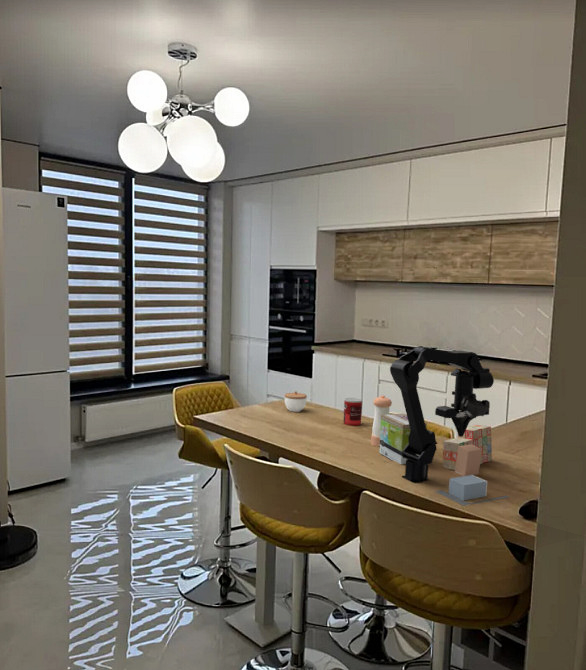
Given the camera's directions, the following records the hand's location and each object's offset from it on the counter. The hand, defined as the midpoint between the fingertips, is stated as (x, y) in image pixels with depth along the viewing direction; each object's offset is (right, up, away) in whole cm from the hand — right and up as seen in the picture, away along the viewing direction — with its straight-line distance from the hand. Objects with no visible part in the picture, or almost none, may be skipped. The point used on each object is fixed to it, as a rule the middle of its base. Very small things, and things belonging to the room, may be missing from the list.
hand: (460, 436), depth 185 cm
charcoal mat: (-3, -14, -19) cm, 24 cm away
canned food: (-29, -6, +65) cm, 71 cm away
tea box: (-17, -11, +15) cm, 25 cm away
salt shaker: (-21, -9, +33) cm, 40 cm away
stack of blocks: (+6, -12, +10) cm, 17 cm away
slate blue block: (0, -11, -18) cm, 21 cm away
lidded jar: (-54, -3, +88) cm, 103 cm away
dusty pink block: (+2, -12, 0) cm, 12 cm away
